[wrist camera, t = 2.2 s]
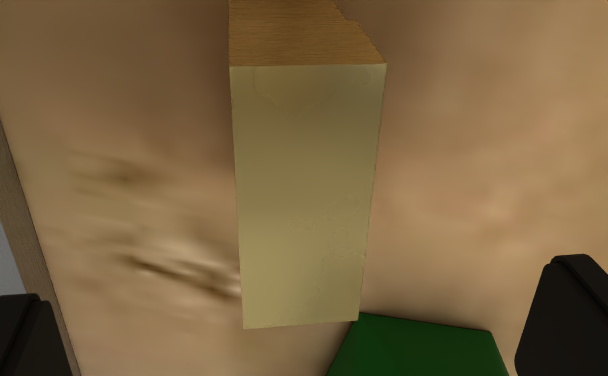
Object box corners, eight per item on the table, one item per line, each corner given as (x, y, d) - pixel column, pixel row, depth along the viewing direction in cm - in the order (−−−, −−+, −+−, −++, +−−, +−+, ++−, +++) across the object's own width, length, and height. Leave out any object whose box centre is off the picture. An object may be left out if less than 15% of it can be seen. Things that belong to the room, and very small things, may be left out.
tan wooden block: (228, -17, 16) (229, 67, 10) (328, -17, 16) (387, 63, 10) (238, 183, 19) (243, 329, 14) (319, 179, 20) (357, 320, 14)
